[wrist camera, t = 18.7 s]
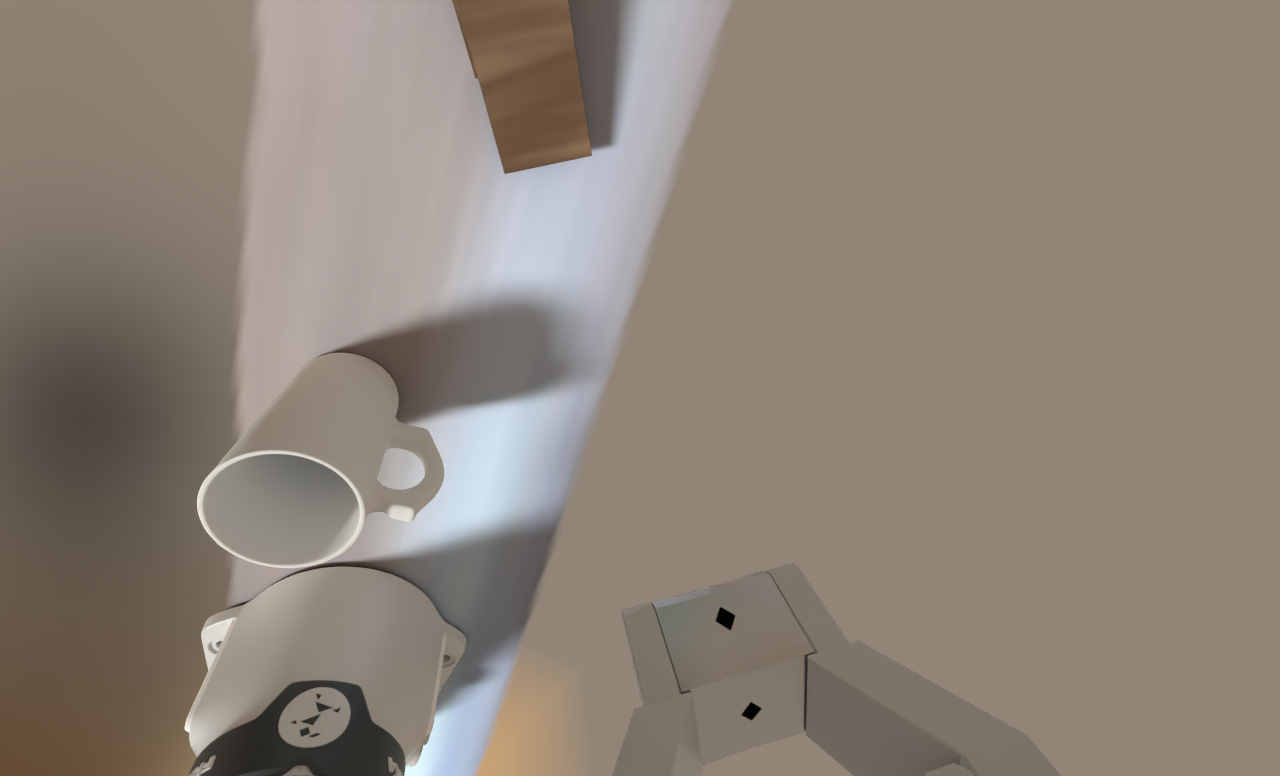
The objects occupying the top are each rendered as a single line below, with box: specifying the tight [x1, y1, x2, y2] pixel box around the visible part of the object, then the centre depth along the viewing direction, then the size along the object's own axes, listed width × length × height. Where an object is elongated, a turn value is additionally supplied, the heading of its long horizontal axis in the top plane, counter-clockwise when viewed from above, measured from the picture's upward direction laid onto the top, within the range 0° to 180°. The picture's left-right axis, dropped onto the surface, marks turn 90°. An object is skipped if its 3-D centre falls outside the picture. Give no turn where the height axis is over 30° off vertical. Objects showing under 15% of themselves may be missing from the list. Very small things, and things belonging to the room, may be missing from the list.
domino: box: [457, 0, 592, 174], centre depth 28 cm, size 2×5×10 cm
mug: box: [197, 353, 444, 568], centre depth 31 cm, size 10×7×12 cm, turn 67°
